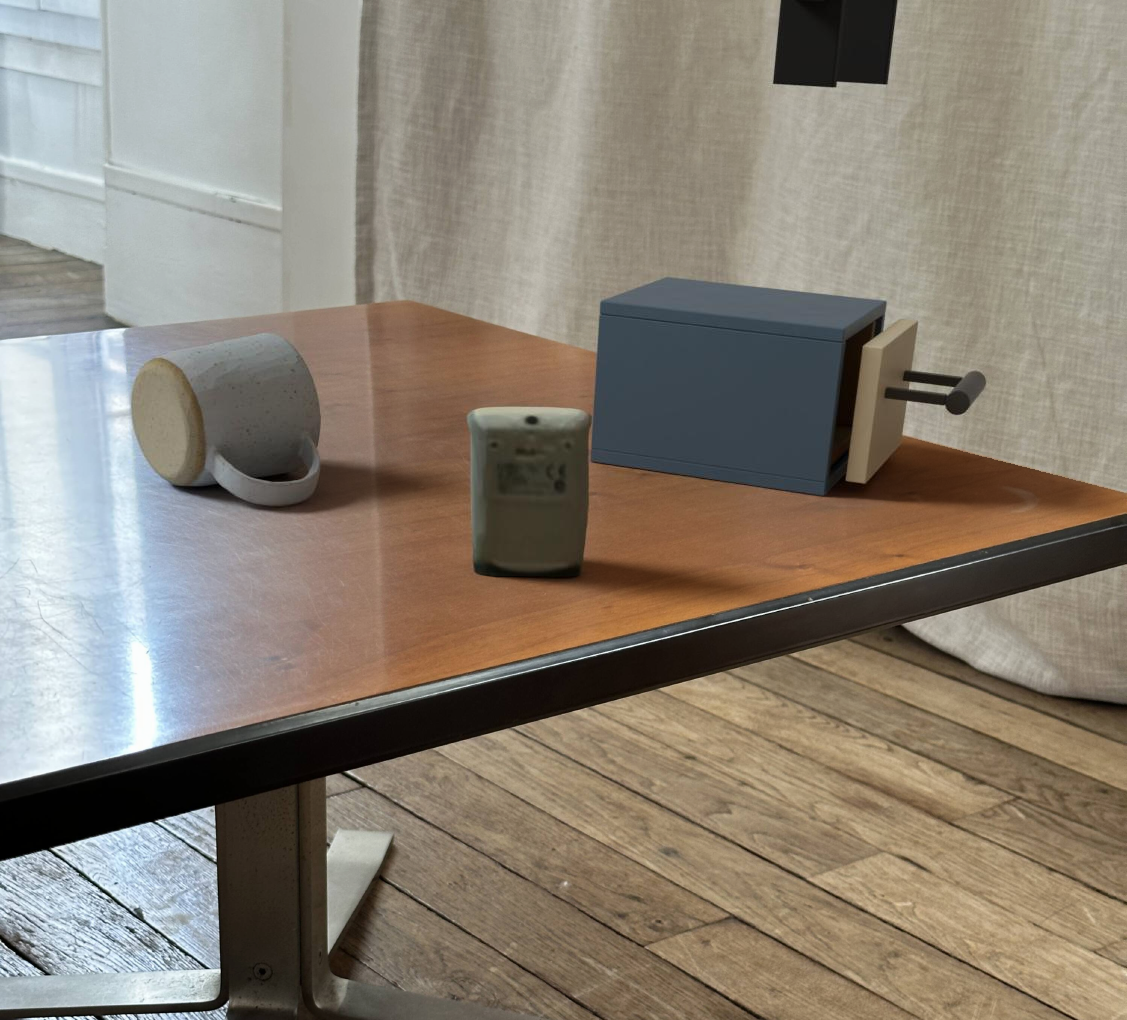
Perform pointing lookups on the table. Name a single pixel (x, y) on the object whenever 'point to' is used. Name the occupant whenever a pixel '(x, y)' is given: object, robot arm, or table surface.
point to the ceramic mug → (231, 418)
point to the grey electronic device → (529, 490)
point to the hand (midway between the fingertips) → (834, 85)
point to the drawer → (887, 395)
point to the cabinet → (725, 381)
